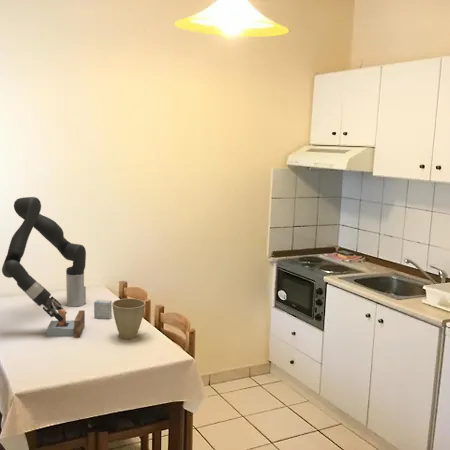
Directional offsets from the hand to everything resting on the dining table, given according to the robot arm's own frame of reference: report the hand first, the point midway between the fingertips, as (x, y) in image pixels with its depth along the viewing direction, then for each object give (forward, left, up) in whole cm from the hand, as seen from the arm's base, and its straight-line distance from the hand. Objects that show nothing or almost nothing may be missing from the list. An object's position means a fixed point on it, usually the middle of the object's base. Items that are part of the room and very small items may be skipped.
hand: (63, 317), depth 263 cm
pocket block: (+1, 0, -8) cm, 8 cm away
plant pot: (-19, +24, -7) cm, 32 cm away
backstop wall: (-6, +5, -7) cm, 10 cm away
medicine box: (-25, -6, -7) cm, 27 cm away
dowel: (+1, 0, -7) cm, 7 cm away
